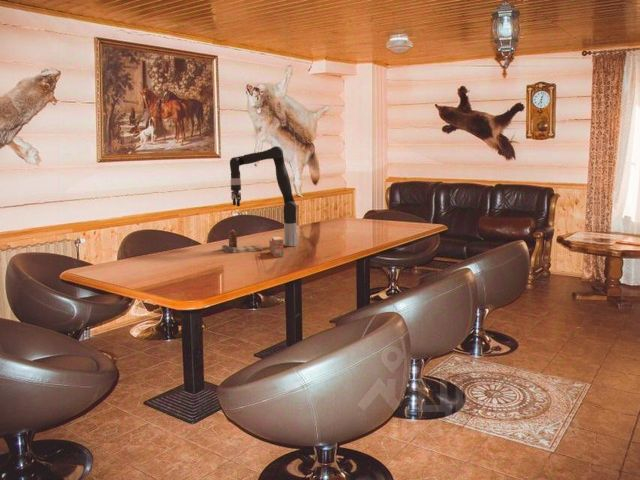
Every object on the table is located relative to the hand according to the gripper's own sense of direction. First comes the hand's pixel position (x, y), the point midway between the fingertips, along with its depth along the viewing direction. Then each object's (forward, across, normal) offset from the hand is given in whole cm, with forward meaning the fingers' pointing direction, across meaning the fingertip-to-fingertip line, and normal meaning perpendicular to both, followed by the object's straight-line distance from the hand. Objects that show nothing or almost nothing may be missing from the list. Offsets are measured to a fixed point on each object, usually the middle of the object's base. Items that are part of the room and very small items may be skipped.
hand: (236, 205), depth 457 cm
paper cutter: (+30, -20, +3) cm, 36 cm away
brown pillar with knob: (+30, -15, +9) cm, 35 cm away
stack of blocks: (+30, -47, -12) cm, 57 cm away
